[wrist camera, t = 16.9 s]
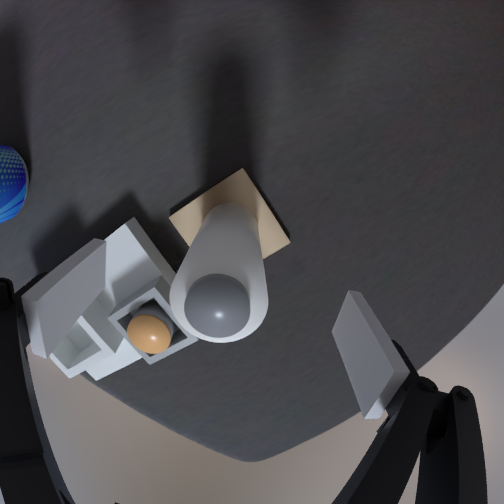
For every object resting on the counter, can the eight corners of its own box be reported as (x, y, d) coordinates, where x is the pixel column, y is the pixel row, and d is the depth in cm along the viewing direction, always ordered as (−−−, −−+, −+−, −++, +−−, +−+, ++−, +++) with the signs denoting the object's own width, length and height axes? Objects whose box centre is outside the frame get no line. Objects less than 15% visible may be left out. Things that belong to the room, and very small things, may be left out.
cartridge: (205, 198, 27) (168, 255, 14) (262, 206, 27) (278, 270, 14) (199, 252, 28) (165, 343, 15) (253, 259, 29) (259, 356, 16)
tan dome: (158, 292, 27) (149, 308, 24) (185, 324, 28) (179, 343, 25) (128, 311, 28) (118, 328, 25) (154, 341, 29) (147, 359, 26)
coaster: (242, 167, 26) (242, 168, 26) (289, 240, 29) (290, 242, 28) (170, 216, 28) (168, 217, 27) (218, 283, 30) (218, 285, 30)
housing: (134, 216, 28) (109, 234, 22) (206, 312, 31) (198, 346, 26) (41, 296, 30) (14, 320, 25) (102, 368, 34) (86, 399, 28)
